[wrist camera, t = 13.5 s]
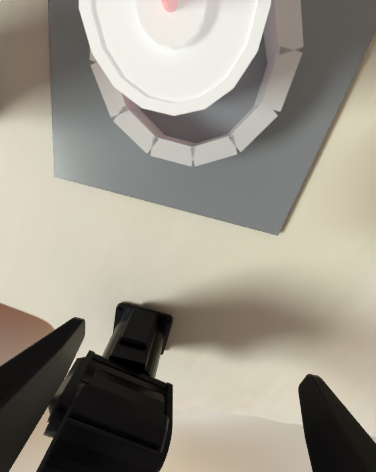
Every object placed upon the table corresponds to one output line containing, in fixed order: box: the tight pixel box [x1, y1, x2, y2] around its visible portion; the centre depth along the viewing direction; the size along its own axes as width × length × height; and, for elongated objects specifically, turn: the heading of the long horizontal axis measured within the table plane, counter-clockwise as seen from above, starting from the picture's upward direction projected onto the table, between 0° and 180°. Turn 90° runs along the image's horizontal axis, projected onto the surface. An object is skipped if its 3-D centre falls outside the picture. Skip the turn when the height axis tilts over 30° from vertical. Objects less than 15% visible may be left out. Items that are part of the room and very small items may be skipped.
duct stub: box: [48, 0, 376, 235], centre depth 14 cm, size 20×20×4 cm
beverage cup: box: [79, 0, 271, 116], centre depth 9 cm, size 6×6×14 cm
